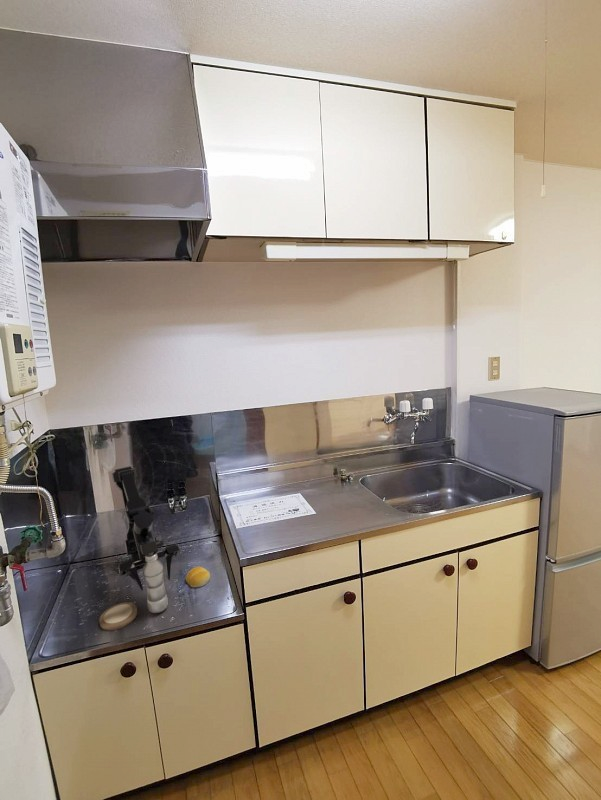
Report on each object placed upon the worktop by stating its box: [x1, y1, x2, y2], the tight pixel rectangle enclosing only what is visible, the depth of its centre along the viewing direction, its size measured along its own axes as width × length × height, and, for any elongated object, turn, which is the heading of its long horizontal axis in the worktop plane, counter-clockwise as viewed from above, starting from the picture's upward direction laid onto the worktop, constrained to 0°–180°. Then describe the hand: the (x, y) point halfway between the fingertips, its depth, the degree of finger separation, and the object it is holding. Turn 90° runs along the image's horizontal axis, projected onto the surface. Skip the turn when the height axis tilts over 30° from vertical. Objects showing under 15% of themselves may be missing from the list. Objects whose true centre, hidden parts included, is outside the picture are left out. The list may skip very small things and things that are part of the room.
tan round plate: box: [98, 601, 138, 631], centre depth 126 cm, size 11×11×2 cm
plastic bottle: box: [142, 551, 169, 614], centre depth 127 cm, size 6×7×20 cm
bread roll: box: [185, 566, 211, 588], centre depth 143 cm, size 8×9×4 cm
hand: (156, 584), depth 126 cm, fingers open, 8 cm apart
